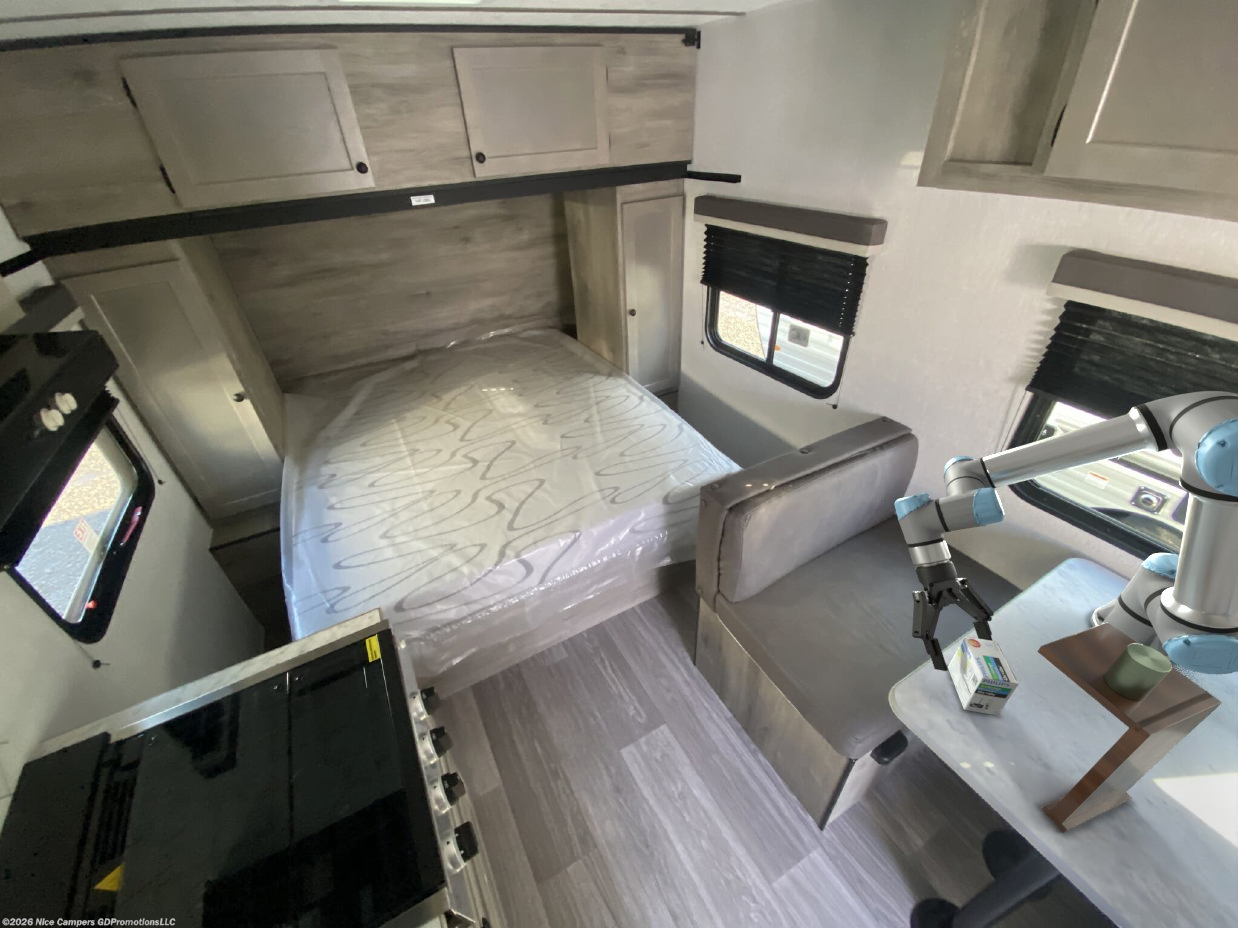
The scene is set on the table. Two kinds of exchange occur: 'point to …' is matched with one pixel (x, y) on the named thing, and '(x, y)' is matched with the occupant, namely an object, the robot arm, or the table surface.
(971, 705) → the light bulb box
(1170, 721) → the shelf stand
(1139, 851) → the table surface
